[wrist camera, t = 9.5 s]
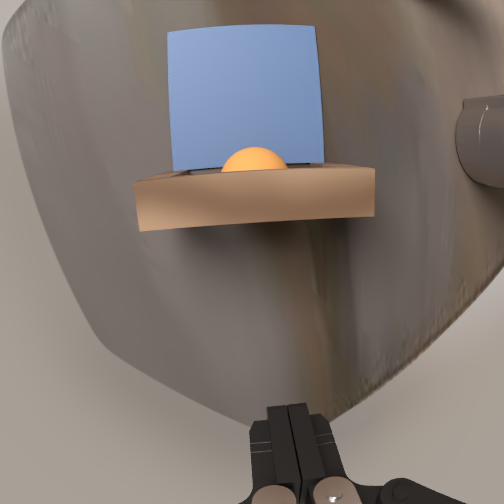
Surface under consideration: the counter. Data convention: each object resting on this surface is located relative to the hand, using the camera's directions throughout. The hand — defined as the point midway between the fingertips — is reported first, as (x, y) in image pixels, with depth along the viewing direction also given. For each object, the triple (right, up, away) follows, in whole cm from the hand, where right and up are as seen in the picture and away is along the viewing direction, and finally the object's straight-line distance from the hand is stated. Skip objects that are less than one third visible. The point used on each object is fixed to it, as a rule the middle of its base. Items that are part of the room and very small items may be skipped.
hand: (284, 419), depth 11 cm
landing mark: (-2, +20, +13) cm, 24 cm away
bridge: (-1, +12, +16) cm, 20 cm away
